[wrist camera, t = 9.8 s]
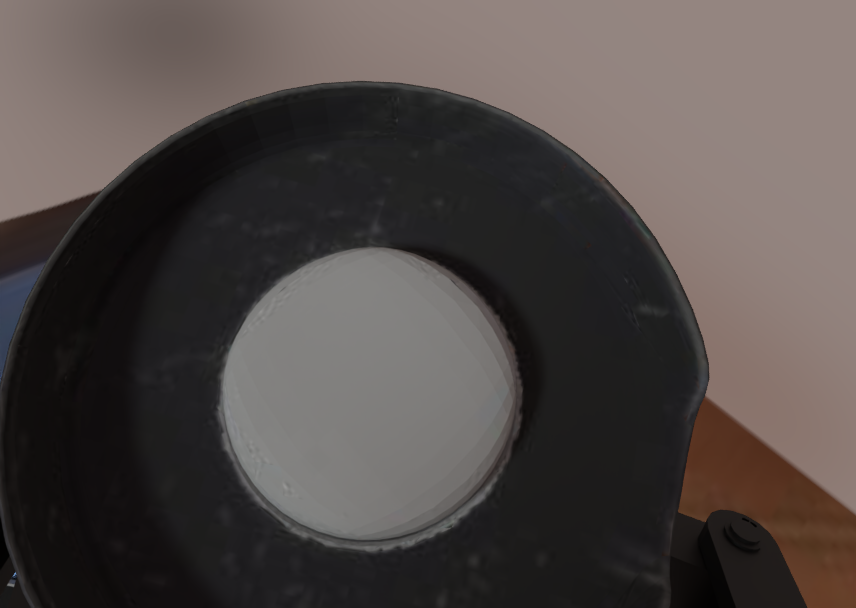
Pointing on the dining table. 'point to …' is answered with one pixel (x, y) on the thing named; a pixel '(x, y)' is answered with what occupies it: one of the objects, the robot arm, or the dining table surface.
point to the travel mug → (351, 371)
